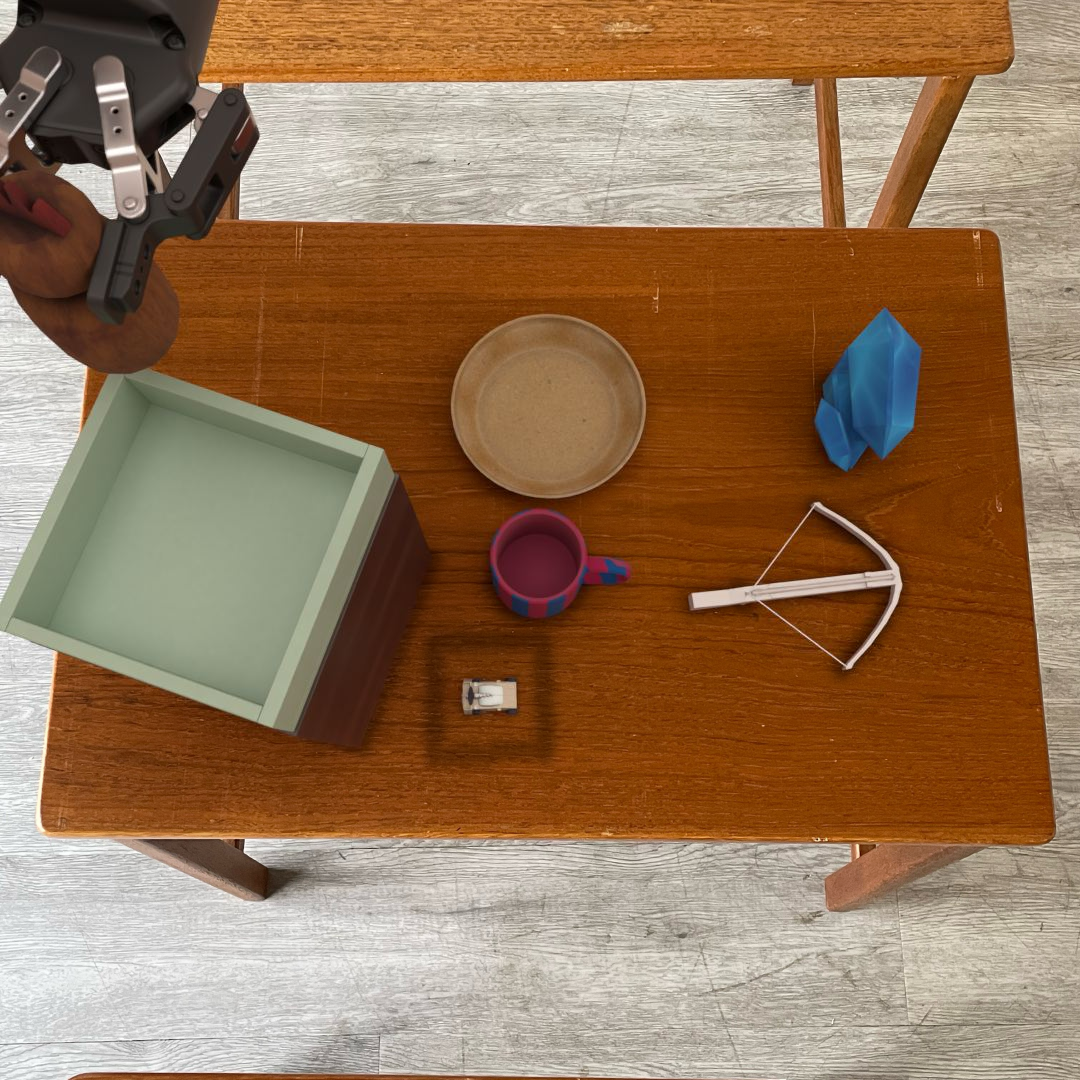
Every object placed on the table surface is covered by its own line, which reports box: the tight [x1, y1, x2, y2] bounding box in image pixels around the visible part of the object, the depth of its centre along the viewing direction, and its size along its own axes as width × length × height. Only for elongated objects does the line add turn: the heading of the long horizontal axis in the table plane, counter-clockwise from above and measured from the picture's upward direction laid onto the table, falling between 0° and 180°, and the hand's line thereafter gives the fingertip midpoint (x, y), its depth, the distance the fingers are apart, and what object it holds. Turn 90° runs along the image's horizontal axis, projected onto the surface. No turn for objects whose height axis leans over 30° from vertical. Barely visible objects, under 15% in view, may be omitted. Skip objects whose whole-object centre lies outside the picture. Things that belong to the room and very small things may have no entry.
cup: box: [489, 508, 632, 619], centre depth 75 cm, size 7×10×7 cm
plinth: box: [29, 471, 433, 749], centre depth 66 cm, size 15×15×22 cm
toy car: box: [460, 676, 519, 716], centre depth 75 cm, size 3×4×2 cm, turn 92°
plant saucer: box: [450, 313, 647, 499], centre depth 80 cm, size 15×15×3 cm
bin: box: [0, 368, 394, 732], centre depth 53 cm, size 15×15×5 cm
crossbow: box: [687, 501, 904, 671], centre depth 77 cm, size 16×13×2 cm
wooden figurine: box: [0, 170, 181, 375], centre depth 43 cm, size 7×6×15 cm
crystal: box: [813, 306, 922, 473], centre depth 78 cm, size 7×9×12 cm
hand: (37, 304), depth 42 cm, fingers closed on wooden figurine, 5 cm apart
